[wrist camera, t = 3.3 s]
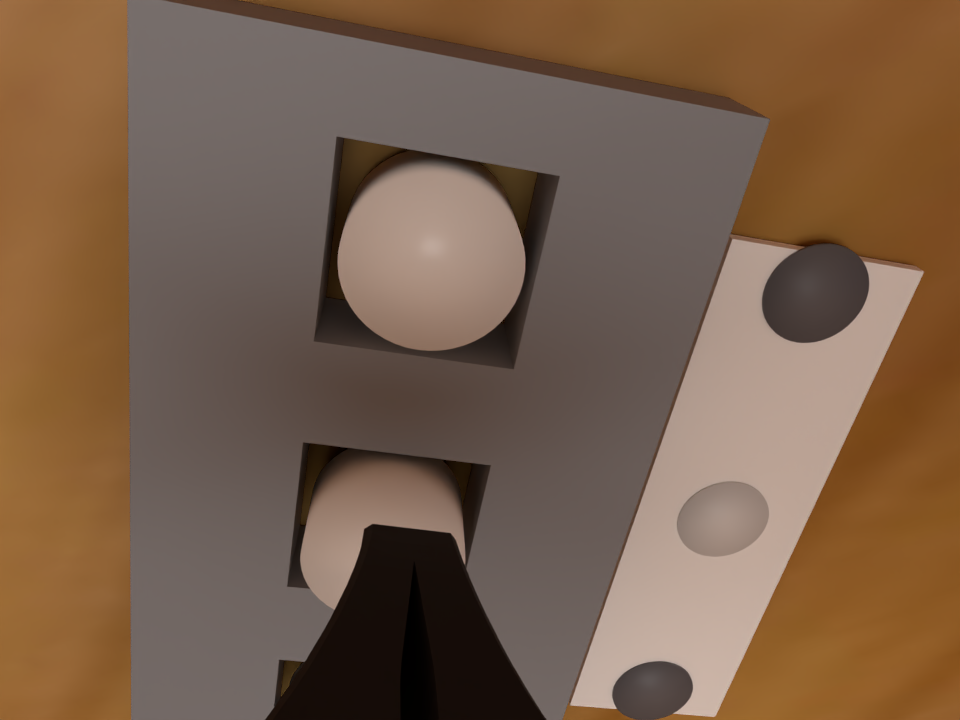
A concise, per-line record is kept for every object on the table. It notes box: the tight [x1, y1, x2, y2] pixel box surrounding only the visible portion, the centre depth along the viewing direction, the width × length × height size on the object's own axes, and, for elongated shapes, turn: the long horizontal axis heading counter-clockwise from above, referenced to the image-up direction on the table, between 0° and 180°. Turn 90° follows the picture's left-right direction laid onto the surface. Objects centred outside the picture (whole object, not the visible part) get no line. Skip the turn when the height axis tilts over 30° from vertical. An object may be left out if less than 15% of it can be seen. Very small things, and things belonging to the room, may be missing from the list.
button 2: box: [300, 448, 465, 610], centre depth 20 cm, size 4×4×2 cm
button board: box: [127, 0, 770, 720], centre depth 21 cm, size 12×22×2 cm, turn 169°
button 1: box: [338, 150, 525, 351], centre depth 17 cm, size 4×4×2 cm
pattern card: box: [569, 234, 924, 720], centre depth 23 cm, size 5×17×1 cm, turn 169°
